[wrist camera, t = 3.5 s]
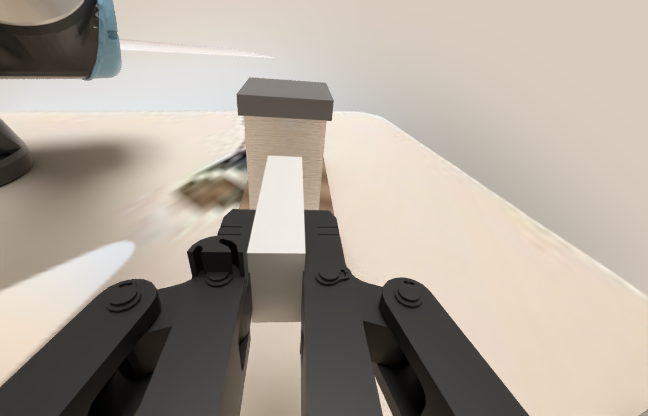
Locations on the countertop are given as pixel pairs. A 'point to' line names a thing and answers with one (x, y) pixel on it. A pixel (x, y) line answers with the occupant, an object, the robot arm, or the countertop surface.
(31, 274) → the countertop surface
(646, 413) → the coffee box
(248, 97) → the silver square canister
